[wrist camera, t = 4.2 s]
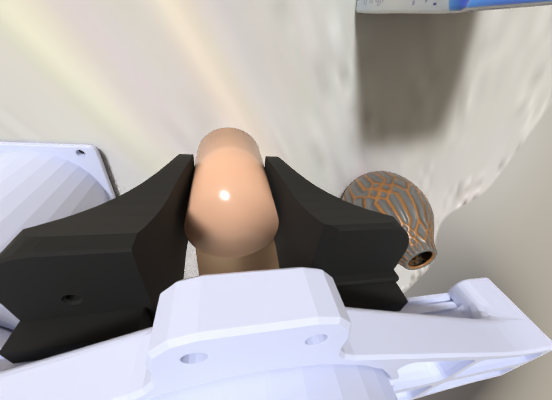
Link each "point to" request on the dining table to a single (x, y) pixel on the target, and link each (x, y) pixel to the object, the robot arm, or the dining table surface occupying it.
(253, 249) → the peach rounded cylinder
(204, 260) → the brown wooden box
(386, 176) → the vase
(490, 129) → the dining table surface
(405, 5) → the medicine box
